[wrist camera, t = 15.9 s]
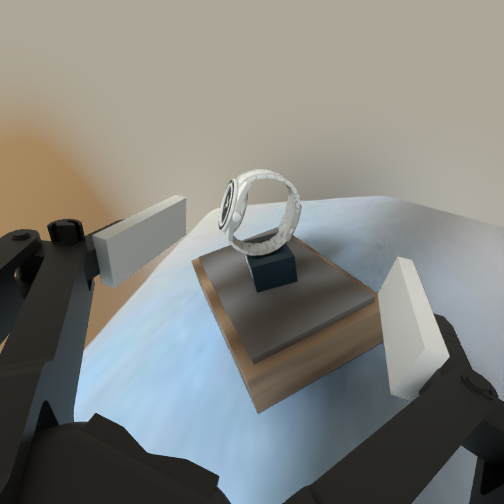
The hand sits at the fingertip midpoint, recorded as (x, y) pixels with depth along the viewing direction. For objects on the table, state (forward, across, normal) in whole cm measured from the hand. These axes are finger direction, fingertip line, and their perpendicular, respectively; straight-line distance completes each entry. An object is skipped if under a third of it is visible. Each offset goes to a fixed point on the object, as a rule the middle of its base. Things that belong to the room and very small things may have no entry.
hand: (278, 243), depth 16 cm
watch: (+9, -1, -9) cm, 13 cm away
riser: (+10, 0, -14) cm, 17 cm away
